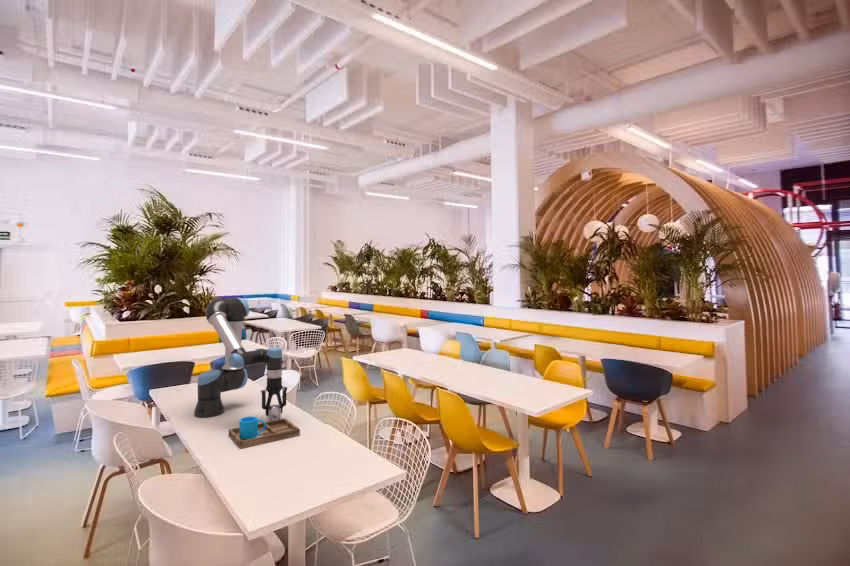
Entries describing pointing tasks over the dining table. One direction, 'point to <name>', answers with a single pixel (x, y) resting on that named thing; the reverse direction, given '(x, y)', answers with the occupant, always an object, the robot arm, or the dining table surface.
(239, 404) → the dining table surface
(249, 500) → the dining table surface
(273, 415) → the clear rounded cylinder
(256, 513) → the dining table surface
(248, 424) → the mug
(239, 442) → the tray
